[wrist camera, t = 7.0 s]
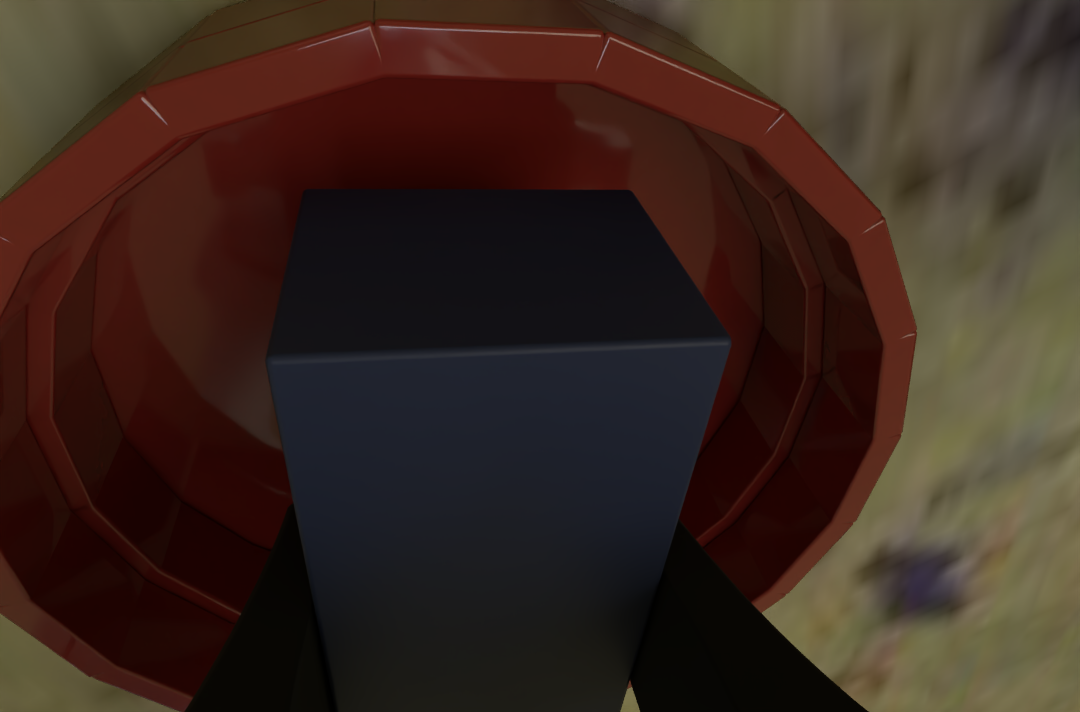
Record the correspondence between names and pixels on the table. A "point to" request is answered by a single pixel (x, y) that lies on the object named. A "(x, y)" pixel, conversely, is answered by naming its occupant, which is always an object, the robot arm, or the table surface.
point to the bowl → (398, 163)
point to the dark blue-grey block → (487, 438)
